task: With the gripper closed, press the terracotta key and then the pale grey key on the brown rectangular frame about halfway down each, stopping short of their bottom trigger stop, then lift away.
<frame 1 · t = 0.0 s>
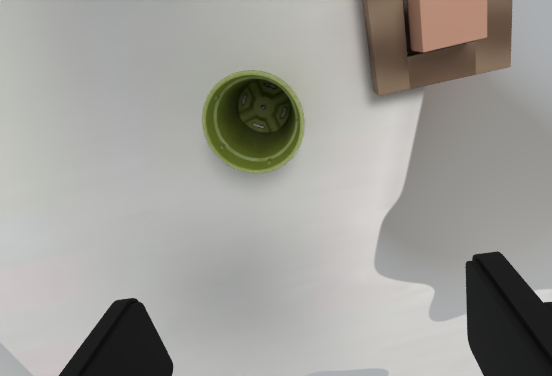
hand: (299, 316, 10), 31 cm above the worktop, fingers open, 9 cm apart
plant pot: (265, 106, 39), on the worktop
terracotta key: (444, 13, 29), point 5 cm above the worktop, slide at 0.0 cm
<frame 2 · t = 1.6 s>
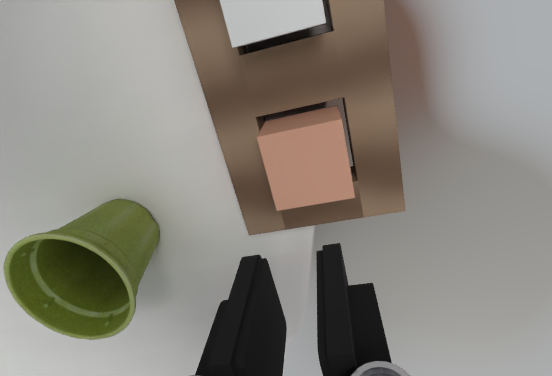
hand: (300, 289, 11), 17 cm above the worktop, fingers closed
plant pot: (130, 226, 32), on the worktop
brown rectangular frame: (294, 71, 24), on the worktop
terracotta key: (307, 157, 22), point 4 cm above the worktop, slide at 0.0 cm
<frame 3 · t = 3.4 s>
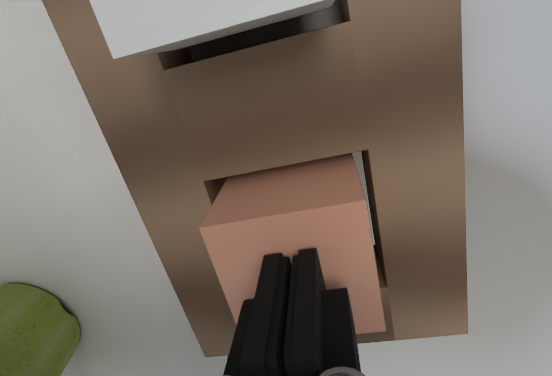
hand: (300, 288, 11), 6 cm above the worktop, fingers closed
plant pot: (38, 316, 21), on the worktop
brown rectangular frame: (276, 94, 14), on the worktop
terracotta key: (299, 245, 13), point 4 cm above the worktop, slide at 0.9 cm, touching gripper
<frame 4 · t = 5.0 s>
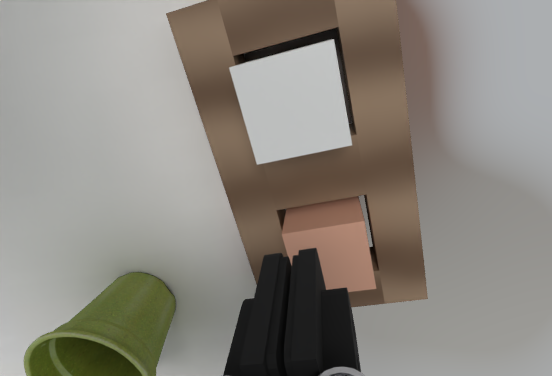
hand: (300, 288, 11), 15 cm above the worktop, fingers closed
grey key: (294, 100, 18), point 4 cm above the worktop, slide at 0.0 cm
plant pot: (146, 296, 32), on the worktop
brown rectangular frame: (314, 159, 24), on the worktop
terracotta key: (329, 244, 23), point 3 cm above the worktop, slide at 1.1 cm
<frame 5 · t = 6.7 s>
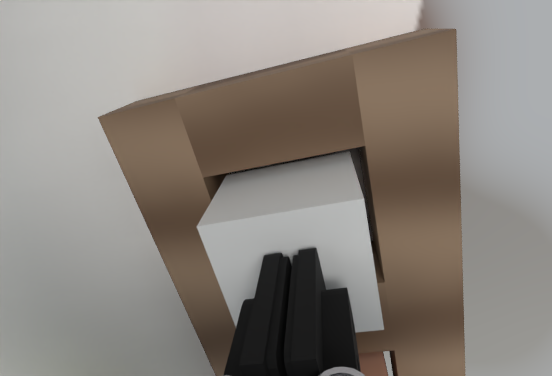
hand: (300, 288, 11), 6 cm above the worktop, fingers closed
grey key: (297, 244, 13), point 4 cm above the worktop, slide at 0.7 cm, touching gripper
brown rectangular frame: (320, 280, 18), on the worktop
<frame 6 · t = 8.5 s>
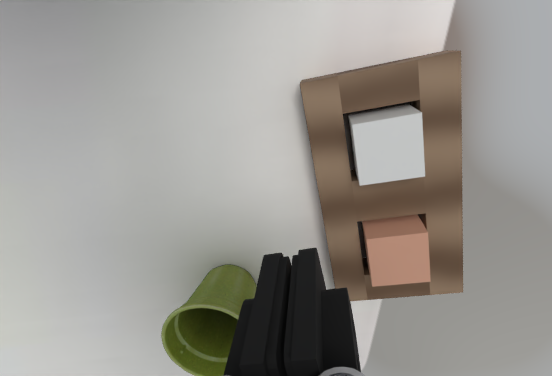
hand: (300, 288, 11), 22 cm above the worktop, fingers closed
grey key: (384, 144, 28), point 3 cm above the worktop, slide at 1.1 cm
plant pot: (232, 284, 40), on the worktop
brown rectangular frame: (383, 184, 33), on the worktop
terracotta key: (394, 248, 31), point 3 cm above the worktop, slide at 1.1 cm
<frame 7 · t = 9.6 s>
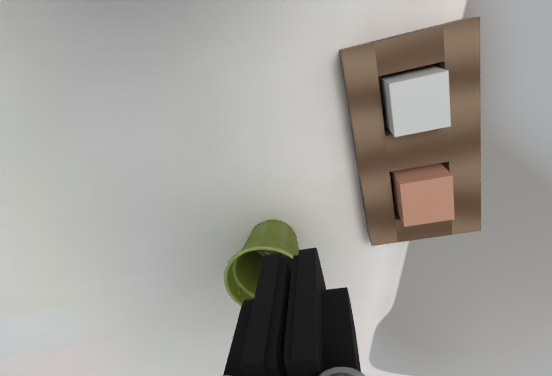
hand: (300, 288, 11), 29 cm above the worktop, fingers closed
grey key: (414, 101, 33), point 3 cm above the worktop, slide at 1.1 cm
plant pot: (274, 238, 45), on the worktop
brown rectangular frame: (409, 140, 38), on the worktop
terracotta key: (421, 193, 36), point 3 cm above the worktop, slide at 1.1 cm
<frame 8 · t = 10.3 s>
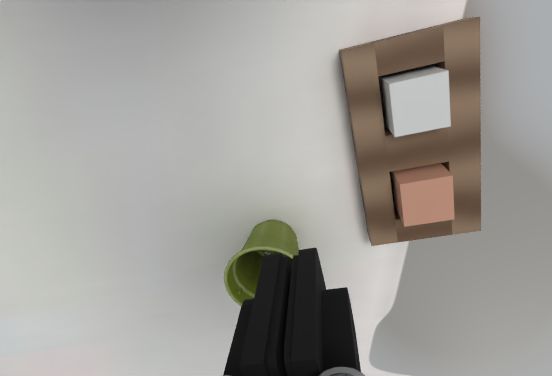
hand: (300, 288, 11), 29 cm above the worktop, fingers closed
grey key: (414, 101, 33), point 3 cm above the worktop, slide at 1.1 cm
plant pot: (274, 238, 45), on the worktop
brown rectangular frame: (409, 140, 38), on the worktop
terracotta key: (421, 193, 36), point 3 cm above the worktop, slide at 1.1 cm
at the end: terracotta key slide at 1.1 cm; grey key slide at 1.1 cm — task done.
